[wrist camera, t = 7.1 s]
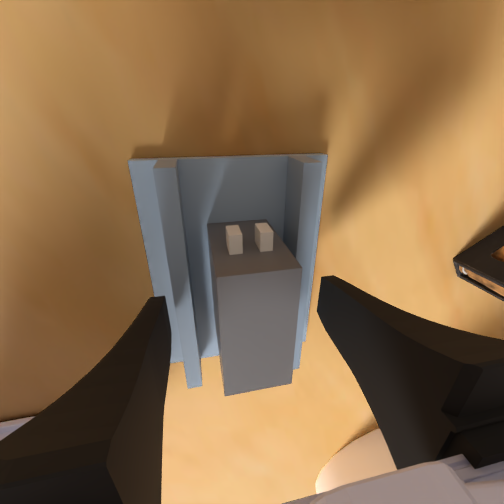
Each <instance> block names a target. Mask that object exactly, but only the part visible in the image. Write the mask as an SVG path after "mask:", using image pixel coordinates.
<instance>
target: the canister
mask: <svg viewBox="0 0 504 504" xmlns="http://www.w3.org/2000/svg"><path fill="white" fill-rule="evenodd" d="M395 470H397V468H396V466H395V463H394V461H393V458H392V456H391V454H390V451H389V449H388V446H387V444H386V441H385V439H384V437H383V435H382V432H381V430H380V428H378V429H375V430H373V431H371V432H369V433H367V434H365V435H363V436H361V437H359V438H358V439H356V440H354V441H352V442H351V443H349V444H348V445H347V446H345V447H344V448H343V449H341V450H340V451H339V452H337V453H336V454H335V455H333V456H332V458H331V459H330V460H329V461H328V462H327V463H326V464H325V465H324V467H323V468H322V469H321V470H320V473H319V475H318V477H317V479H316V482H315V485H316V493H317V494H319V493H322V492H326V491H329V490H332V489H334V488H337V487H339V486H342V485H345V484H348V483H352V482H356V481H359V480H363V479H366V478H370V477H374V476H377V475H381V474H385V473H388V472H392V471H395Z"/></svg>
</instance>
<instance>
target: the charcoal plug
mask: <svg viewBox="0 0 504 504" xmlns="http://www.w3.org/2000/svg"><path fill="white" fill-rule="evenodd" d="M207 234H208V246H209V259H210V271H211V283H212V295H213V307H214V320H215V327H216V334H217V342H218V349H219V357H220V364H221V371H222V379H223V386H224V394H225V396H229V395H234V394H240V393H245V392H250V391H255V390H260V389H265V388H270V387H276V386H281V385H286V384H291V383H292V373H293V362H294V352H295V341H296V331H297V321H298V310H299V300H300V289H301V279H302V266H301V265H300V264H299V262H298V261H297V260H296V258H295V257H294V256H293V254H292V253H291V252H290V250H289V249H288V248H287V246H286V245H285V244H284V242H283V241H282V240H281V238H280V237H279V236H278V234H277V233H276V232H275V230H274V229H273V228H272V226H271V225H270V224H269V222H268V221H267V220H266V219H261V220H248V221H235V222H222V223H209V224H207Z"/></svg>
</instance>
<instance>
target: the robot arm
mask: <svg viewBox="0 0 504 504" xmlns="http://www.w3.org/2000/svg"><path fill="white" fill-rule="evenodd" d="M317 313H318V315H319V317H320V319H321V322H322V324H323V326H324V328H325V330H326V331H327V333H328V335H329V336H330V338H331V339H332V341H333V343H334V344H335V346H336V347H337V349H338V350H339V352H340V354H341V355H342V357H343V358H344V360H345V361H346V363H347V364H348V366H349V368H350V369H351V371H352V373H353V374H354V376H355V378H356V380H357V382H358V384H359V386H360V388H361V390H362V392H363V394H364V396H365V398H366V400H367V402H368V404H369V406H370V408H371V410H372V412H373V414H374V417H375V419H376V421H377V423H378V425H379V428H380V430H381V432H382V435H383V437H384V439H385V441H386V444H387V446H388V449H389V451H390V454H391V456H392V458H393V461H394V463H395V466H396V468H397V470H395V471H392V472H388V473H385V474H381V475H377V476H374V477H370V478H366V479H363V480H359V481H356V482H352V483H348V484H345V485H342V486H339V487H337V488H334V489H332V490H329V491H326V492H322V493H319V494H315V495H311V496H308V497H304V498H301V499H297V500H293V501H290V502H286V503H283V504H504V340H501V339H496V338H491V337H486V336H481V335H477V334H473V333H470V332H466V331H462V330H458V329H455V328H451V327H448V326H445V325H441V324H438V323H435V322H432V321H429V320H426V319H424V318H421V317H418V316H416V315H413V314H411V313H408V312H406V311H403V310H401V309H399V308H396V307H394V306H392V305H390V304H388V303H386V302H384V301H382V300H380V299H378V298H376V297H374V296H372V295H370V294H368V293H366V292H364V291H362V290H360V289H359V288H357V287H355V286H353V285H351V284H349V283H348V282H346V281H344V280H342V279H340V278H338V277H336V276H325V277H321V284H320V292H319V299H318V306H317ZM171 344H172V331H171V326H170V320H169V314H168V309H167V303H166V297H165V296H157V297H150V298H149V299H148V301H147V302H146V304H145V305H144V307H143V308H142V310H141V311H140V313H139V314H138V316H137V317H136V319H135V320H134V321H133V323H132V324H131V325H130V327H129V328H128V330H127V331H126V332H125V333H124V335H123V336H122V337H121V338H120V340H119V341H118V342H117V343H116V344H115V346H114V347H113V348H112V349H111V350H110V351H109V352H108V354H107V355H106V356H105V357H104V358H103V359H102V360H101V361H100V362H99V363H98V364H97V365H96V366H95V367H94V368H93V369H92V370H91V371H90V372H89V373H88V374H87V375H86V376H84V377H83V378H82V379H81V380H80V381H79V382H78V383H77V384H75V385H74V386H73V387H72V388H71V389H70V390H69V391H67V392H66V393H65V394H64V395H62V396H61V397H60V398H59V399H57V400H56V401H55V402H54V403H52V404H51V405H50V406H48V407H47V408H46V409H45V410H43V411H42V412H41V413H39V414H38V415H36V416H33V417H28V418H22V419H17V420H11V421H6V422H0V504H161V478H162V440H163V415H164V404H165V397H166V389H167V382H168V375H169V367H170V360H171Z"/></svg>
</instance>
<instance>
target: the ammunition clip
mask: <svg viewBox="0 0 504 504" xmlns="http://www.w3.org/2000/svg"><path fill="white" fill-rule="evenodd" d="M453 262H454V266H455V269H456V273H457V276H458V277H460V278H462V279H463V280H465V281H467V282H469V283H471V284H473V285H474V286H476V287H478V288H480V289H482V290H484V291H486V292H487V293H489V294H491V295H493V296H495V297H497V298H498V299H500V300H502V301H504V226H502V227H501V228H499V229H498V230H496V231H495V232H493V233H492V234H490V235H488V236H487V237H485V238H484V239H482V240H481V241H479V242H478V243H476V244H475V245H473V246H471V247H470V248H468V249H467V250H465V251H464V252H462V253H461V254H459V255H458V256H456V257H455V258H453Z"/></svg>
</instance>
